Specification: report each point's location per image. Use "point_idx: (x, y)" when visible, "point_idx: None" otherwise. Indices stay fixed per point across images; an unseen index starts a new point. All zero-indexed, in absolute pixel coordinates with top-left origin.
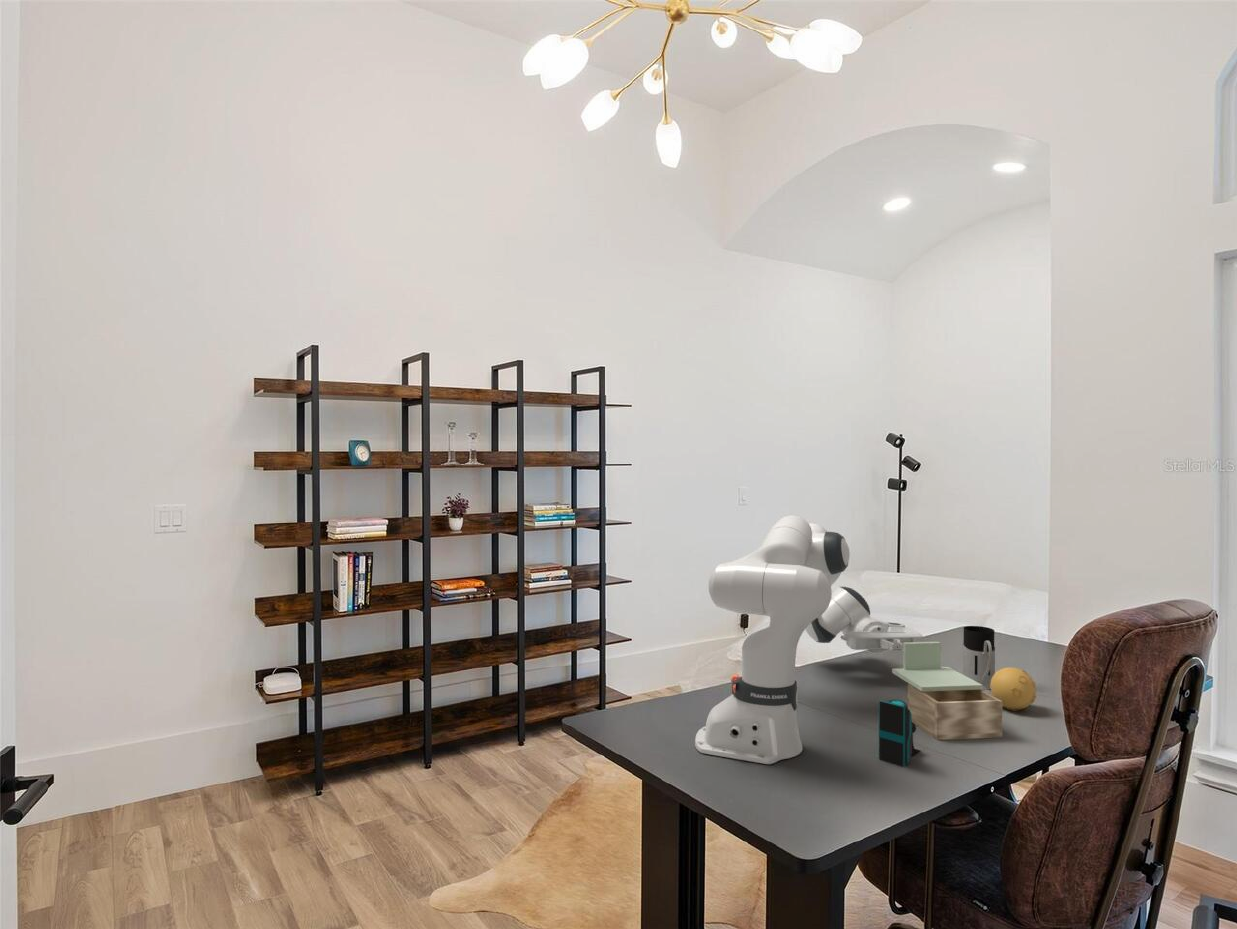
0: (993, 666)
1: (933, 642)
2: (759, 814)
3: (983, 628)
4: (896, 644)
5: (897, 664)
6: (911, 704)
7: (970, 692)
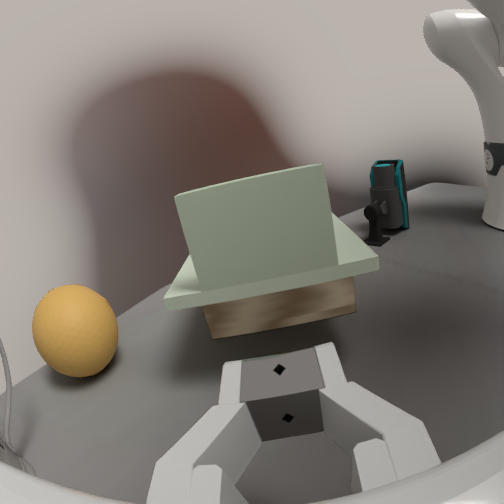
0: None
1: (200, 188)
2: (468, 188)
3: None
4: (287, 352)
5: None
6: None
7: None
